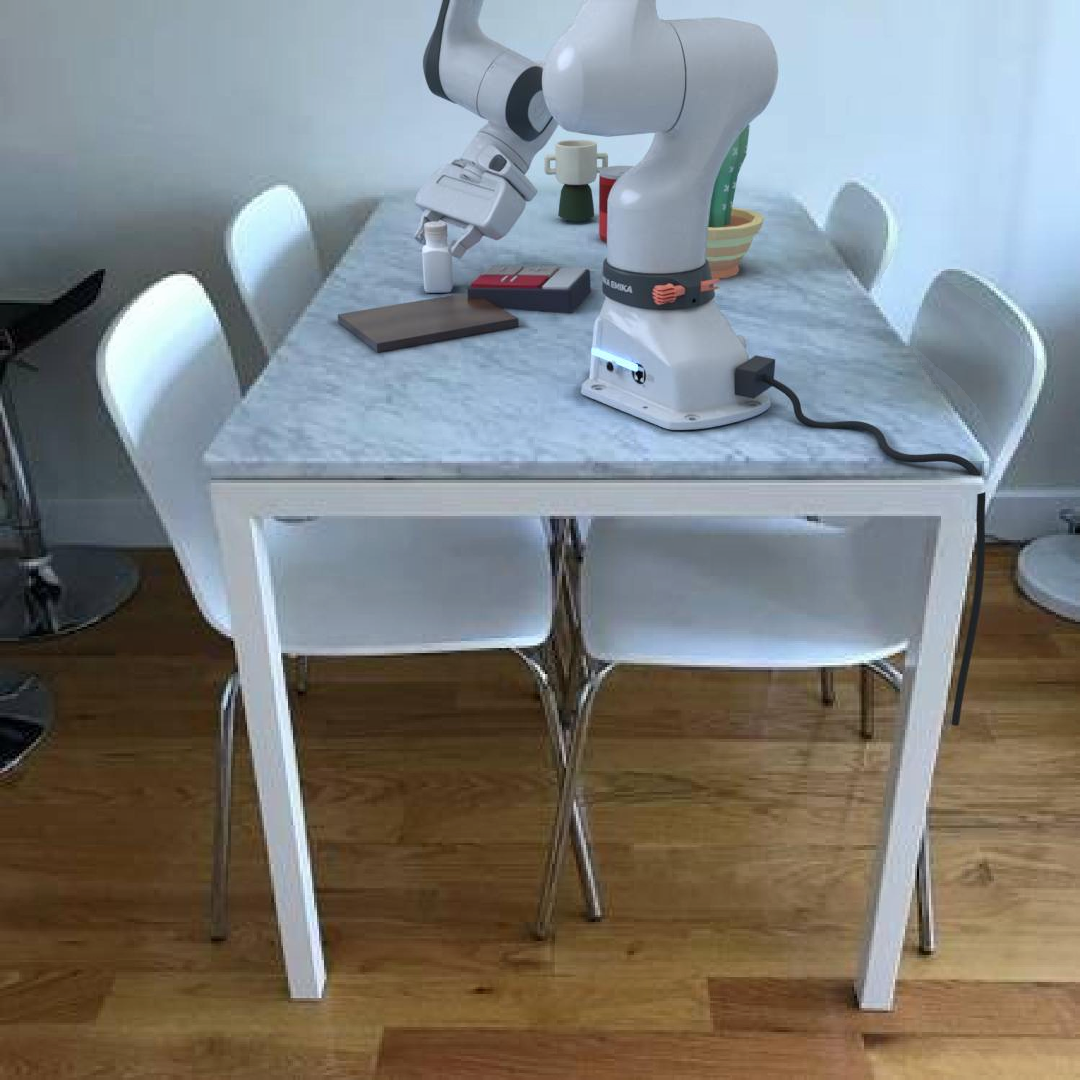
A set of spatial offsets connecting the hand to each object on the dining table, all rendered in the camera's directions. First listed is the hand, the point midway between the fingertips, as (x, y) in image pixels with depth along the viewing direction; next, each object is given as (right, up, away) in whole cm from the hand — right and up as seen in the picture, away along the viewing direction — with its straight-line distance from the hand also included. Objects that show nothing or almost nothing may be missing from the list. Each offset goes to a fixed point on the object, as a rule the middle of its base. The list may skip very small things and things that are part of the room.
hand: (435, 248), depth 175 cm
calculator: (+14, -8, -1) cm, 16 cm away
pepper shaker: (0, -6, +3) cm, 6 cm away
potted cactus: (+40, -1, +10) cm, 41 cm away
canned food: (+28, +8, +27) cm, 40 cm away
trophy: (+21, +14, +39) cm, 47 cm away
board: (0, -13, -11) cm, 17 cm away
